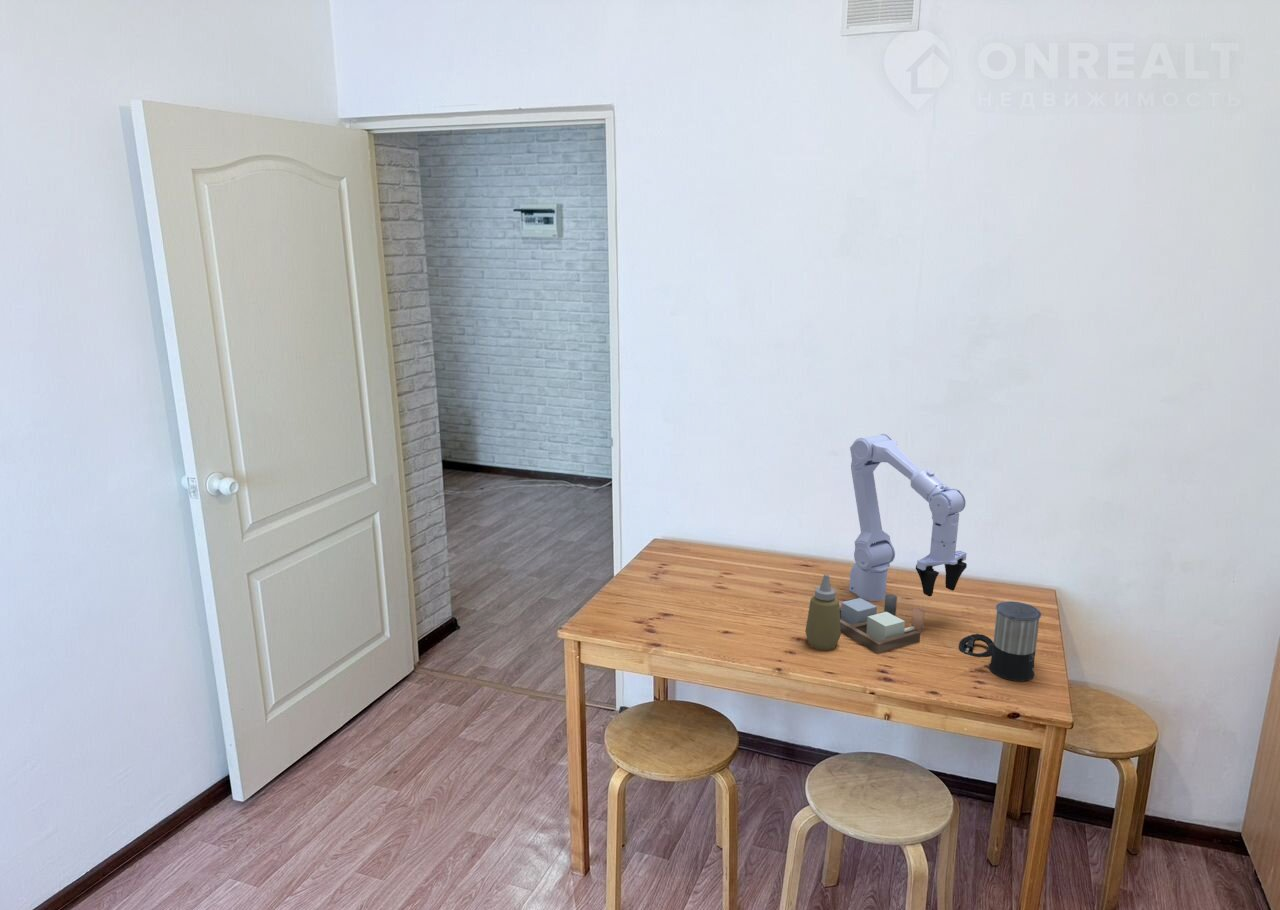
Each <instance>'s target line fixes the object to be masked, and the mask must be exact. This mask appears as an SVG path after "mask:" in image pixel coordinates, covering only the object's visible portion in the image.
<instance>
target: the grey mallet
mask: <svg viewBox="0 0 1280 910" xmlns="http://www.w3.org/2000/svg"><path fill="white" fill-rule="evenodd" d="M897 601H898V596H897V595H895V594H889V593H888V594H887V593H886V596H885V599H884V610H883V612H888V613H890V614H892V615H894V616H896V617H897V615H896V613H897ZM877 610H878V606H877V605H875V604H872V603H871V602H870V601H868V600H865V599H862V598H860V597H858V598H854V599H850V600H845V601H841V618H840V619H841V620H843V621H845V622H846V623H848V624H850V625H855V624H859V623H862V622H866V621H867V617H868V616H871V615H875V614H878V611H877Z"/></svg>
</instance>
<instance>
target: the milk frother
mask: <svg viewBox="0 0 1280 910" xmlns="http://www.w3.org/2000/svg"><path fill="white" fill-rule="evenodd" d="M995 610H996V614H995V615H996V616H995V624H994V634H993V635H994V636H993V640H992V639H991V638H990V637H988V636H987V635H984V634H979V633H976V634H971V635H967V636H965V637H963V638H962V639H961V640H960V641H959V644H958V648H959V651H960V652H961V653H963V654H965V655H968V656H970V657H975V658H988V657H991V658H990V663H989V665H988V668H989V670H990V671H991V672H992V673H993V674H994V675H996V676H998V677H999V678H1003V679H1005V680H1008V681H1009V680H1010V681H1013V680H1014V682H1015V681H1016V682H1025V681H1030V680H1032V679H1033V678H1034V676H1035V671H1034V670H1035V659H1036V650H1037V643H1038V634H1039V627H1040V618H1041V617H1042V611H1040V609H1039V608H1037V607H1035V606H1033V605H1032V604H1028V603H1025V602H1019V601H1001V602H998V603H997V604H996V605H995ZM977 641H979V642H980V641H981V642H983V643H984V644H986V645H987V650H986V651H984V652H980V653H979V652H978V653H975V652H973V651H974V647H975V643H976V642H977Z"/></svg>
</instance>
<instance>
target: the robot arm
mask: <svg viewBox="0 0 1280 910" xmlns="http://www.w3.org/2000/svg"><path fill="white" fill-rule="evenodd" d="M849 451H850V457H851V463H850V471H851V475H852V477H851V478H852V484H853V489H854V496H855V502H856V503H855V504H856V509H857V515H858V522H859V528H860V534H858V536H857V538H856V539H855V540H854V552H853V559H854V562H855V563H854V564H853V565H852V567H851V569H850V571H849V587H848V591H850V592H851V593H853V594H855V595H857V597H858V598H861V599H863V600H865V601H867V602H880V601H883V600H884V601H885V596H886V595H887V593H886V592H887V581H888V568H890V565H891V563H892V562H894V560H895V557H896V551H895V547H894V545H893V544H892V542H891V536H890V535H889V534H888V533H886V532H885V531H884V530H883V527H882V520H881V514H880V508H879V501H878V494H877V488H876V482H875V477H874V476H875V475H874V471H875V470H876V468H877V467H878V466H879V465H880V464H881V463H888V464H889V466H892V467H893V468H894V469H896V470H897V471H898V472H900V473H901V474H902V475H903V476H904V477H906V478H907V479H908V480H910V488H911V489H913V490H914V491H915V492H916V493H917V494H918V495H920V496H921V498H923V499H924V500H925V501H926V502H927V503H928V507H929V510H930V512H931V520H932V526H931V527H932V529H931V539H930V548H929V549H930V550H929V554H928V555H925V556H923V558H920V559H918V560H917V561H916V565H915V570H916V572H917V574H918V576H919V580H920V583H921V588H922V593H923V595H925V596H928V597H933V594H934V588H935V583H936V580H937V577H938V576H939V574H940V572H939V571H936V570H935V568H934V567H938V566H941V565H944V568H945V569H944V570H945V583H944V584H945V589H948V590H950V591H951V592H953V591H955V589H956V587H957V585H958V582H959V579H960V578H961V576H962V574H963V572H964V571H965V570H966V569H967V566H968V564H967V563H966V562H965V561H966V560H967V554H968V553H967V552H965V551H963V550H956V549H957V540H958V530H959V520H960V518H959V517H960V513H961V512H963V511H964V509H965V508H966V498H965V496H964V494H963V493H962V491H961V490H960V489H958V488H951V487H949V485H947V484H944V483H943V481H941V480H940V479H939V478H938V477H936V476H935V472H933V471H932V470H928V469H920V468H919V466H917V464H915V463H914V462H913V461H912V460H911V459H910V458H909V457H908V456H907V455H906V454H905V453H904V452H903V451H902V450H901V449H900V448H899V447H898V442H897V441H896V440H894V439H893V438H892V437H891V436H890V435H889V434H885V433H882V434H879V435H874V436H873V435H872V436H867V437H866V436H865V437H859V438H856V439H855V440H854V442H853V443H852V444H851V446H850V447H849Z"/></svg>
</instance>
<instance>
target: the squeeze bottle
mask: <svg viewBox="0 0 1280 910" xmlns="http://www.w3.org/2000/svg"><path fill="white" fill-rule="evenodd" d="M831 585H832V584H831V580H830V576H829V574H823V577H822V580H821V583H820V585H819V586H817V587H816V588H815V589H814V596H812V597H811V598H810V600H809V601H810V602H809V607H808V614H807V620H806V625H805V631H804V632H805V636H806V638H807V642H808V645H809V646H810V647H812V648H813V649H816V650H819V651H830V650H834V649H835V648H836V647H837V644H838V643H839V640H840V638H841V630H840V601H839V599H838V598H837V596H836V590H835V588H833V587H832V586H831Z"/></svg>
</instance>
